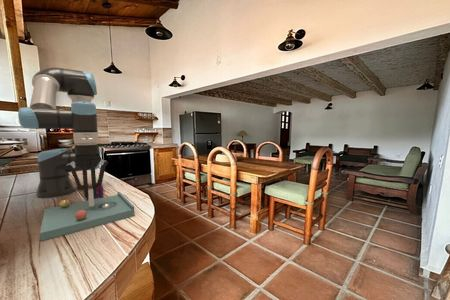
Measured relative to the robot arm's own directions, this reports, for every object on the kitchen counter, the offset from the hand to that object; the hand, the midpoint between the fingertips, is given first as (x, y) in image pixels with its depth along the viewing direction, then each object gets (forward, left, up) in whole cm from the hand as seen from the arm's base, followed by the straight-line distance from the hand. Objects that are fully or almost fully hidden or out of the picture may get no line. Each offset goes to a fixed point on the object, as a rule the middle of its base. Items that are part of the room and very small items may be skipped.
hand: (91, 205), depth 74 cm
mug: (-19, +3, -4) cm, 20 cm away
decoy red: (+9, -4, 0) cm, 10 cm away
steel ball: (0, +5, -2) cm, 5 cm away
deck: (0, -1, -4) cm, 4 cm away
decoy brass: (-9, -8, 0) cm, 12 cm away
